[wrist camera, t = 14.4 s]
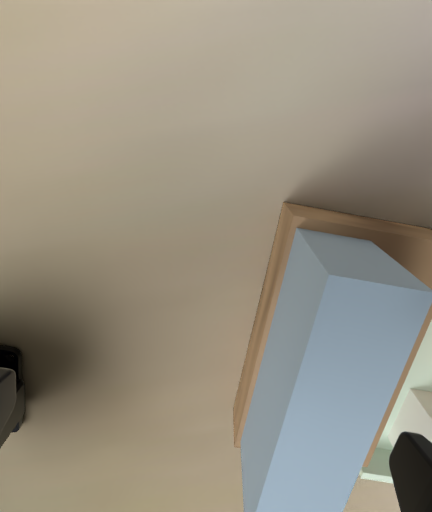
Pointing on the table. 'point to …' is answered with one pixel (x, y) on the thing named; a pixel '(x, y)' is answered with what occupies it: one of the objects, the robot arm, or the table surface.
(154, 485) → the table surface
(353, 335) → the long blue block
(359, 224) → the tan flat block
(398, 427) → the tile
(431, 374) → the tray
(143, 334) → the table surface
